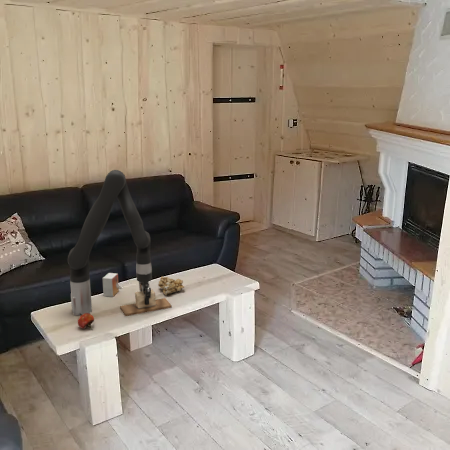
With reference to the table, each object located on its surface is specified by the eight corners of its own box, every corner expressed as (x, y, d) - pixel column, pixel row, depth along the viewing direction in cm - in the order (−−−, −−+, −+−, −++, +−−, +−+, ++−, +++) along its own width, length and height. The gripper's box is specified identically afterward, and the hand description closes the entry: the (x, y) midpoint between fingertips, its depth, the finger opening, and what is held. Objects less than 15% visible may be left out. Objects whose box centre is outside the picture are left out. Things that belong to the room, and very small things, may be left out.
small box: (113, 297, 259) (112, 278, 256) (103, 296, 260) (102, 277, 257) (119, 291, 267) (118, 273, 264) (109, 290, 268) (108, 272, 265)
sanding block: (138, 308, 242) (137, 295, 240) (135, 304, 246) (135, 292, 244) (155, 305, 246) (155, 292, 244) (152, 301, 250) (152, 289, 248)
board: (125, 316, 237) (124, 314, 237) (120, 308, 246) (120, 306, 246) (171, 307, 247) (171, 305, 247) (165, 300, 256) (165, 297, 256)
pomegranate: (97, 330, 228) (86, 313, 232) (100, 322, 223) (89, 305, 227) (83, 337, 224) (72, 320, 227) (86, 329, 218) (75, 312, 222)
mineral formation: (166, 298, 258) (151, 287, 269) (186, 295, 267) (171, 285, 278) (168, 283, 257) (153, 273, 268) (188, 281, 265) (173, 272, 276)
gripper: (132, 267, 246) (134, 298, 250) (140, 277, 233) (142, 309, 238) (147, 265, 249) (148, 295, 253) (155, 274, 236) (156, 306, 241)
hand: (145, 302), depth 245 cm, fingers closed on sanding block, 5 cm apart
